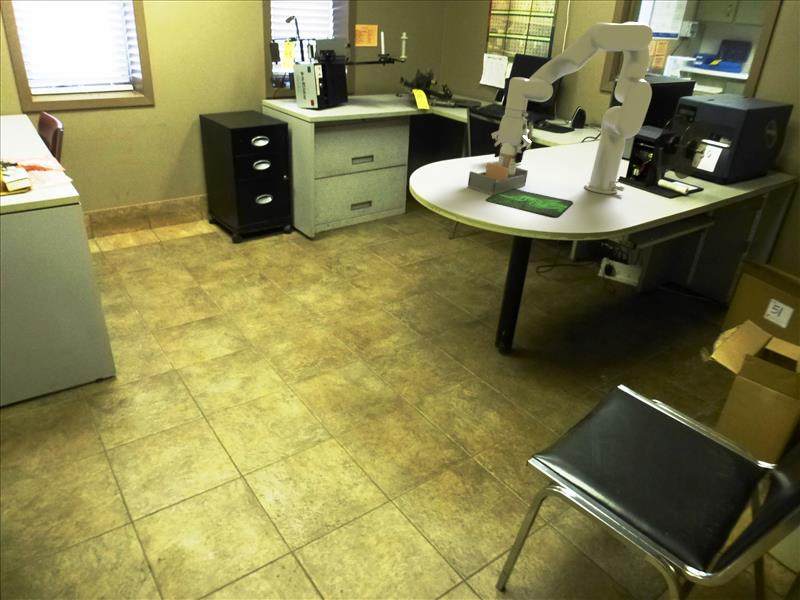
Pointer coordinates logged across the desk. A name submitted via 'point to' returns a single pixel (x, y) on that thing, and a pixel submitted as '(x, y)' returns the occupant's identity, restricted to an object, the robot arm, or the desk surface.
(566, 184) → the desk surface
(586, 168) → the desk surface
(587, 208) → the desk surface
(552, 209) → the mouse mat
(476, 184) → the grey open box
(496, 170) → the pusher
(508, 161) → the bath foam
